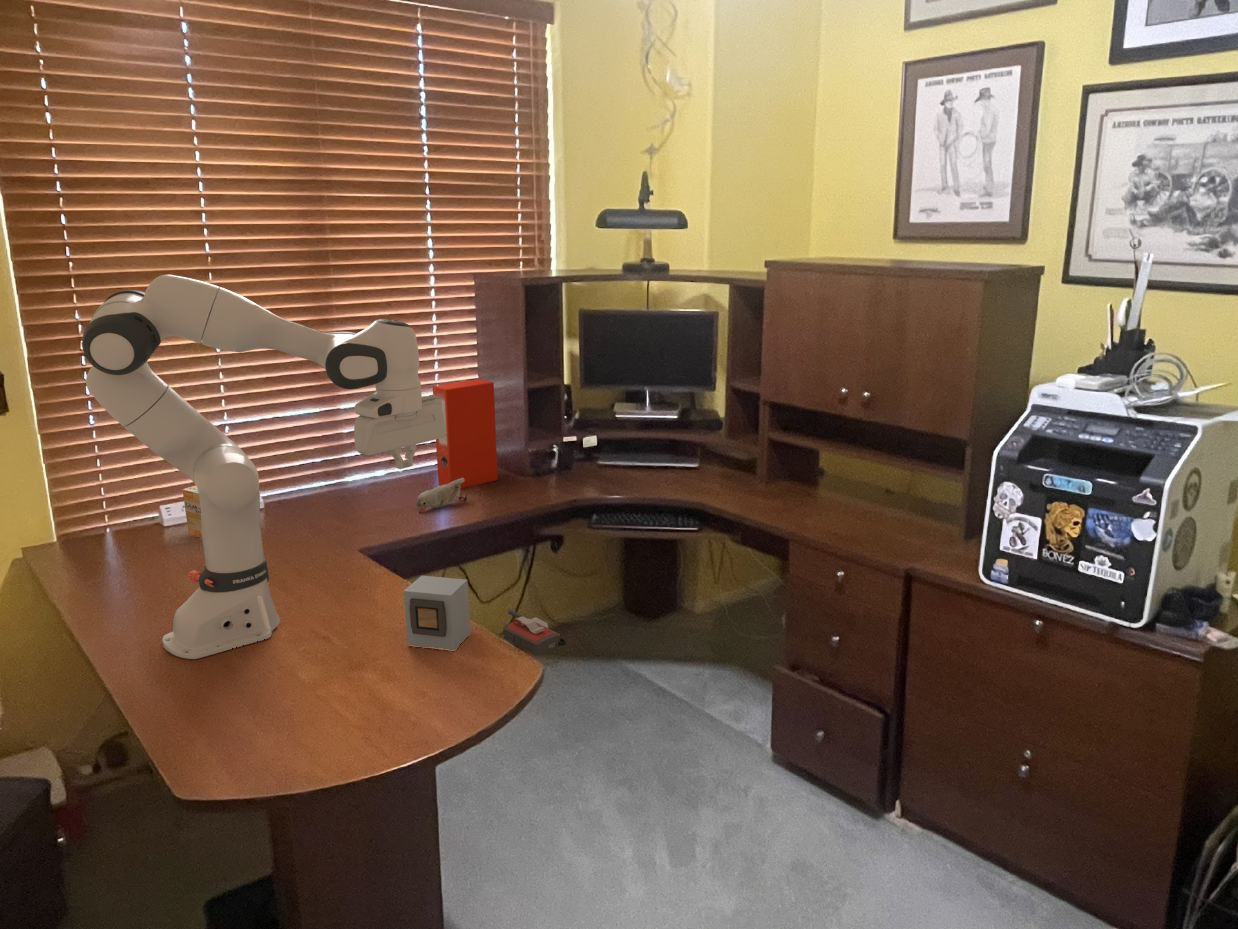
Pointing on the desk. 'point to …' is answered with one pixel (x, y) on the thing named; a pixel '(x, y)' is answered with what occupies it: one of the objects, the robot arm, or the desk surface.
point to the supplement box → (192, 510)
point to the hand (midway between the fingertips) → (404, 467)
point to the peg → (428, 617)
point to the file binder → (467, 433)
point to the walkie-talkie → (532, 634)
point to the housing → (451, 611)
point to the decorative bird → (440, 495)
